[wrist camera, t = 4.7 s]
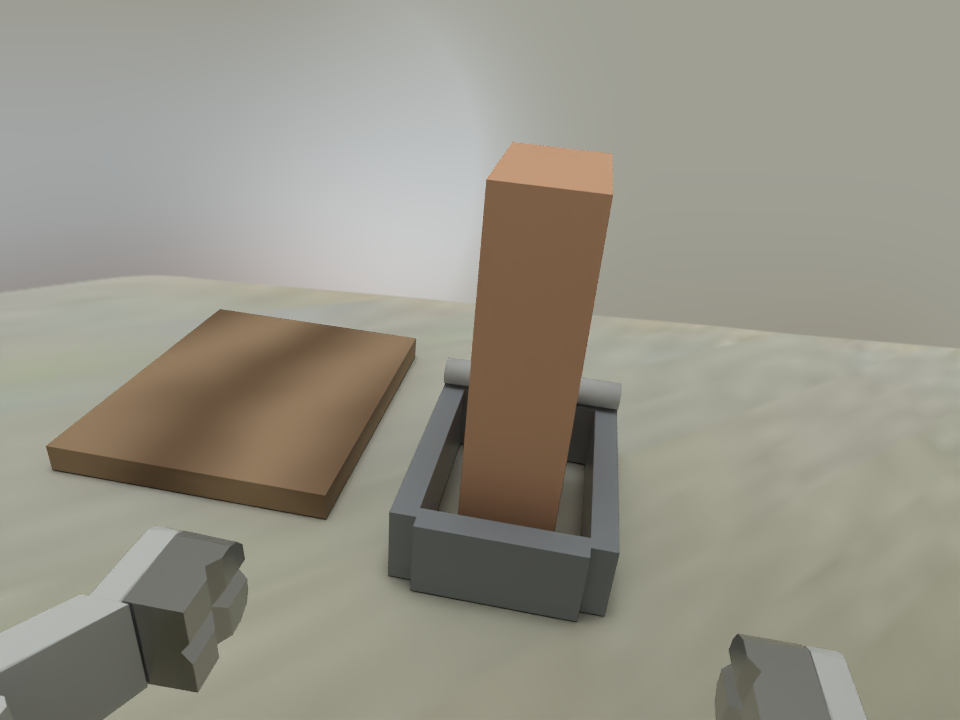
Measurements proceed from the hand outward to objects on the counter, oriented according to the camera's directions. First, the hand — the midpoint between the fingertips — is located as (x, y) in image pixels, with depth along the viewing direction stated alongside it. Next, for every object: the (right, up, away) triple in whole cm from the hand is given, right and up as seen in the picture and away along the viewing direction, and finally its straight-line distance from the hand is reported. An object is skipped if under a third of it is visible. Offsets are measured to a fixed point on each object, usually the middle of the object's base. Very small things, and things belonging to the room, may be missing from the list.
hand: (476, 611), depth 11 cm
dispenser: (+1, -1, +13) cm, 13 cm away
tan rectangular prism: (+1, -1, +13) cm, 13 cm away
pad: (-9, +2, +17) cm, 20 cm away
